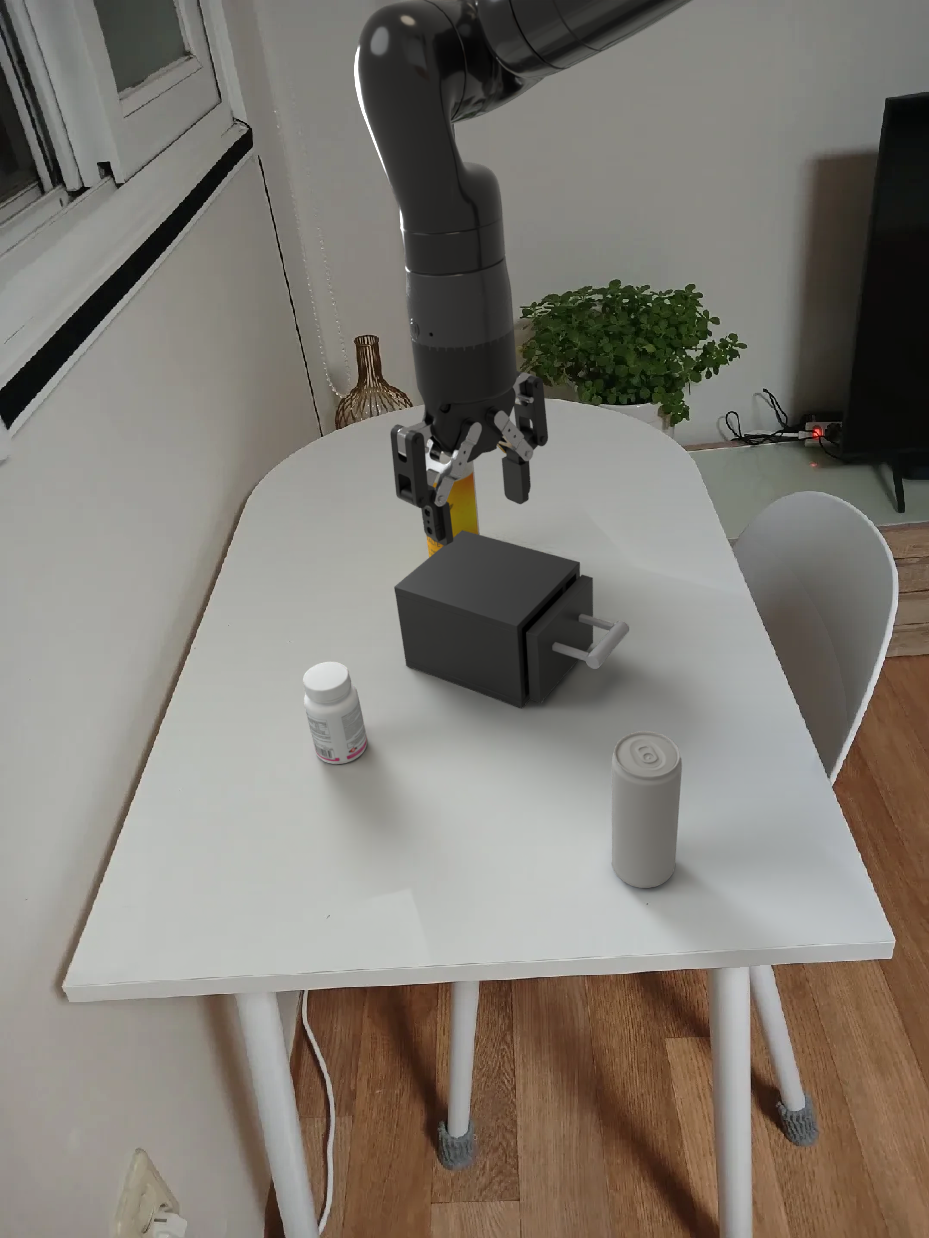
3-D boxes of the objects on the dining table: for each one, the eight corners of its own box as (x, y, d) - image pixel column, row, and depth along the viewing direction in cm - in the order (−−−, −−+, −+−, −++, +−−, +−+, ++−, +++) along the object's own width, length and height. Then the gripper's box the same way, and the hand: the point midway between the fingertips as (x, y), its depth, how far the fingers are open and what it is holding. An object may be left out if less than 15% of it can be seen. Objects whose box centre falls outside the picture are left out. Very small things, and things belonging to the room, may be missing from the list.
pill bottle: (363, 724, 89) (349, 653, 84) (372, 758, 85) (358, 686, 80) (312, 736, 88) (295, 665, 83) (319, 771, 84) (301, 698, 79)
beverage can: (625, 899, 71) (628, 785, 64) (601, 851, 74) (601, 738, 68) (685, 882, 71) (694, 767, 64) (658, 835, 75) (664, 722, 68)
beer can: (423, 553, 113) (409, 436, 104) (472, 541, 114) (462, 425, 105) (437, 579, 108) (423, 459, 99) (488, 567, 109) (478, 447, 100)
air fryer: (581, 641, 96) (580, 561, 91) (522, 708, 89) (516, 626, 83) (469, 606, 103) (462, 529, 97) (405, 665, 96) (393, 586, 90)
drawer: (638, 657, 92) (640, 590, 88) (588, 720, 85) (587, 652, 81) (487, 609, 101) (482, 546, 96) (430, 663, 94) (422, 599, 89)
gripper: (420, 366, 63) (446, 572, 72) (566, 305, 70) (573, 500, 79) (352, 344, 68) (384, 540, 77) (495, 289, 75) (509, 475, 84)
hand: (480, 520), depth 78 cm, fingers open, 8 cm apart
